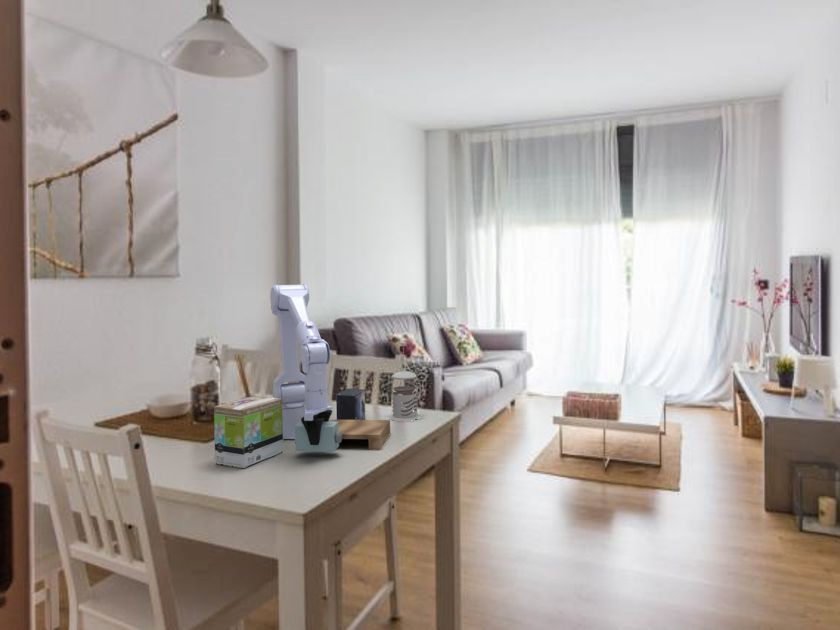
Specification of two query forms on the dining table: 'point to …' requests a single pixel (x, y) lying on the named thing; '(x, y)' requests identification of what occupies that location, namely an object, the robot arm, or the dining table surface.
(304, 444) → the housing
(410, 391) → the french press
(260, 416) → the tea box
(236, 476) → the dining table surface
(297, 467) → the dining table surface
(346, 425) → the stand
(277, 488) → the dining table surface
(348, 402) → the small box
